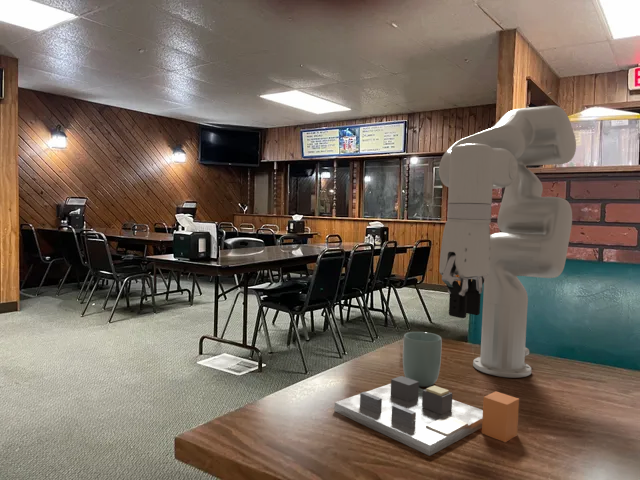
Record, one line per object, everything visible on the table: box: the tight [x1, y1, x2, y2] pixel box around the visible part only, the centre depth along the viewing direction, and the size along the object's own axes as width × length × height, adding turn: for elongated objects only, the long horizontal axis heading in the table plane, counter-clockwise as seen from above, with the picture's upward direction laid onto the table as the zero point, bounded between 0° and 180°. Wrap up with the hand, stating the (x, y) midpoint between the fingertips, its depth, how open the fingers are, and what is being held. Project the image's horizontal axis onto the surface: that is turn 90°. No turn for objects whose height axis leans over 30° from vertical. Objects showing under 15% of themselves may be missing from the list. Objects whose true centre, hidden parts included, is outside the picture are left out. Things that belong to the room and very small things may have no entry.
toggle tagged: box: [422, 385, 453, 415], centre depth 83 cm, size 3×4×3 cm
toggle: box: [390, 375, 420, 402], centre depth 88 cm, size 3×4×3 cm
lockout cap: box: [481, 390, 520, 443], centre depth 78 cm, size 4×4×6 cm
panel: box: [334, 383, 483, 456], centre depth 83 cm, size 18×20×4 cm
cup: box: [402, 331, 443, 388], centre depth 100 cm, size 8×8×10 cm
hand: (464, 314), depth 87 cm, fingers open, 3 cm apart
